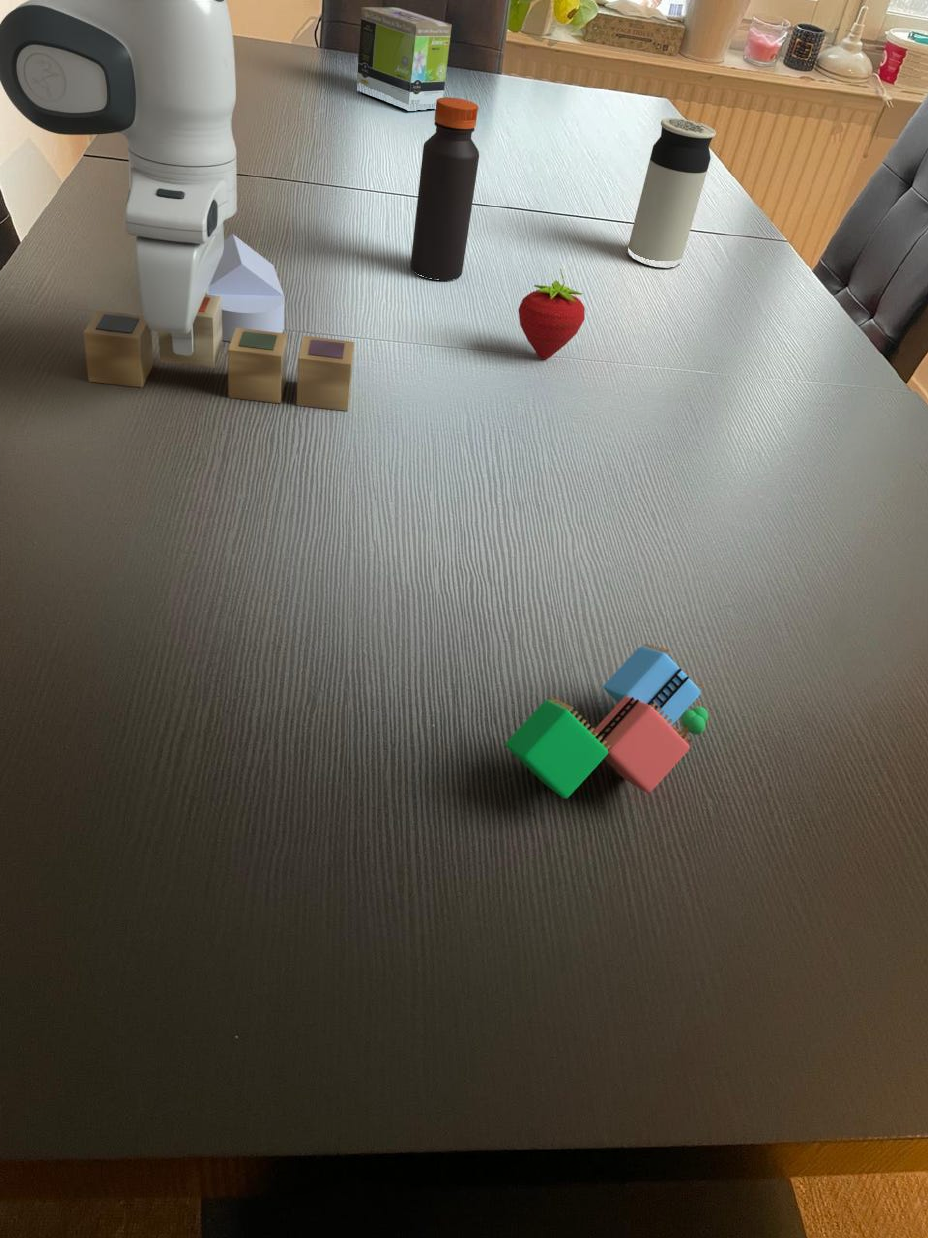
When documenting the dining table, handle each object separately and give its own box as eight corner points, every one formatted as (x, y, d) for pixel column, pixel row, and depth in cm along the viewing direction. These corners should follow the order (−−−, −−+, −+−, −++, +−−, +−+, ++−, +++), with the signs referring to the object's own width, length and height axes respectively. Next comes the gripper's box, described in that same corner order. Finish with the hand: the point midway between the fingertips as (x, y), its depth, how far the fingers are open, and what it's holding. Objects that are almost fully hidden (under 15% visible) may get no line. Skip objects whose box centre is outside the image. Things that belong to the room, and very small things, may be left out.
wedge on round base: (192, 291, 112) (202, 342, 103) (190, 232, 108) (201, 279, 98) (272, 293, 115) (289, 343, 105) (274, 235, 110) (291, 282, 101)
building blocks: (563, 807, 68) (679, 680, 69) (610, 844, 60) (739, 700, 61) (485, 731, 66) (605, 602, 67) (523, 759, 58) (658, 612, 59)
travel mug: (637, 268, 139) (672, 131, 128) (619, 247, 145) (651, 114, 134) (688, 271, 141) (727, 137, 130) (668, 250, 147) (704, 120, 136)
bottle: (400, 271, 126) (418, 99, 113) (424, 257, 131) (444, 91, 118) (447, 286, 124) (471, 114, 111) (470, 271, 129) (495, 105, 116)
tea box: (443, 109, 193) (454, 23, 183) (406, 113, 186) (415, 24, 177) (391, 88, 200) (398, 4, 190) (353, 91, 193) (359, 4, 184)
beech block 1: (88, 381, 93) (82, 330, 90) (101, 358, 97) (96, 308, 94) (142, 388, 94) (139, 337, 91) (153, 364, 98) (150, 315, 94)
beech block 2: (228, 397, 95) (227, 348, 92) (235, 374, 99) (235, 325, 95) (280, 403, 95) (281, 354, 92) (286, 380, 99) (287, 332, 96)
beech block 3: (296, 405, 96) (298, 356, 92) (301, 381, 99) (303, 334, 96) (347, 411, 96) (351, 363, 93) (350, 387, 100) (354, 340, 97)
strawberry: (504, 345, 113) (519, 259, 107) (565, 347, 115) (584, 262, 109) (517, 369, 109) (534, 280, 102) (581, 371, 111) (602, 284, 104)
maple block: (160, 362, 92) (156, 309, 89) (170, 339, 96) (167, 288, 93) (214, 368, 93) (213, 316, 90) (222, 345, 97) (221, 294, 93)
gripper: (170, 147, 92) (177, 290, 101) (118, 220, 77) (132, 382, 85) (238, 156, 93) (239, 298, 102) (201, 231, 77) (206, 391, 86)
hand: (190, 337), depth 93 cm, fingers closed on maple block, 5 cm apart
